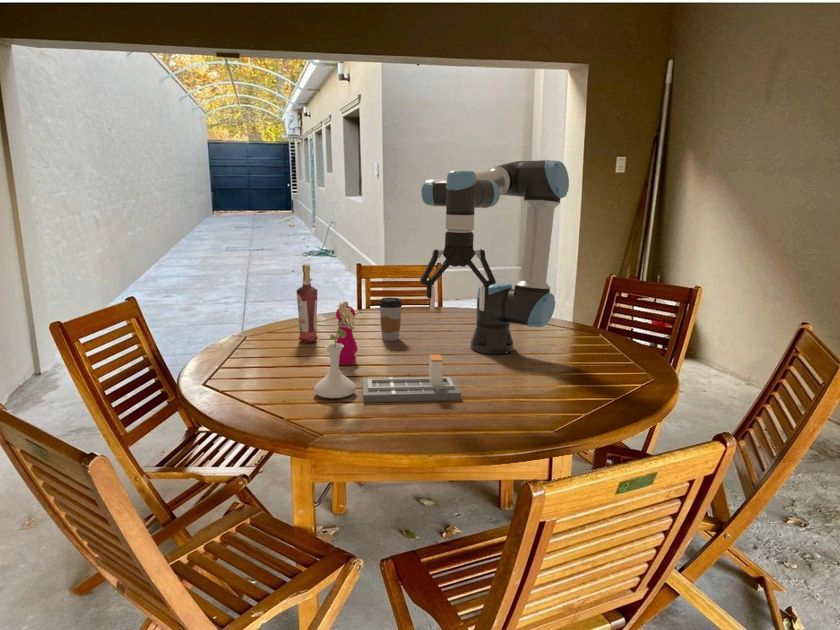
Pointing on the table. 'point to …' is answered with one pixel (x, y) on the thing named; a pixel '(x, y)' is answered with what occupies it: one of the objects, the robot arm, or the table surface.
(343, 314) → the flower in vase
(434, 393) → the panel
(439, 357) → the fader
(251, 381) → the table surface
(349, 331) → the pepper mill
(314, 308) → the liquor
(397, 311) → the coffee cup
